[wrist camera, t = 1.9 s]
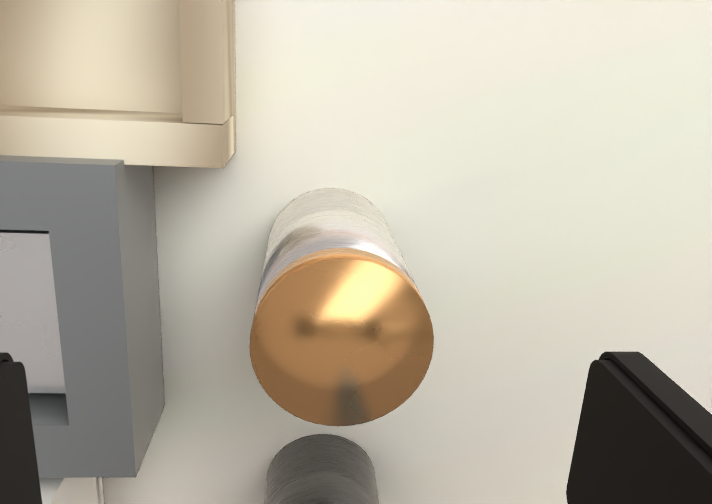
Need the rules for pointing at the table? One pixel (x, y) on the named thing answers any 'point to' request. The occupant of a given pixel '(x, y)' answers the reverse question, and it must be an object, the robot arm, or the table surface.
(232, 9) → the trough
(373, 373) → the cylinder
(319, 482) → the black cell
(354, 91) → the table surface
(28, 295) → the plate
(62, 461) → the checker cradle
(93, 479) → the cup
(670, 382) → the robot arm
